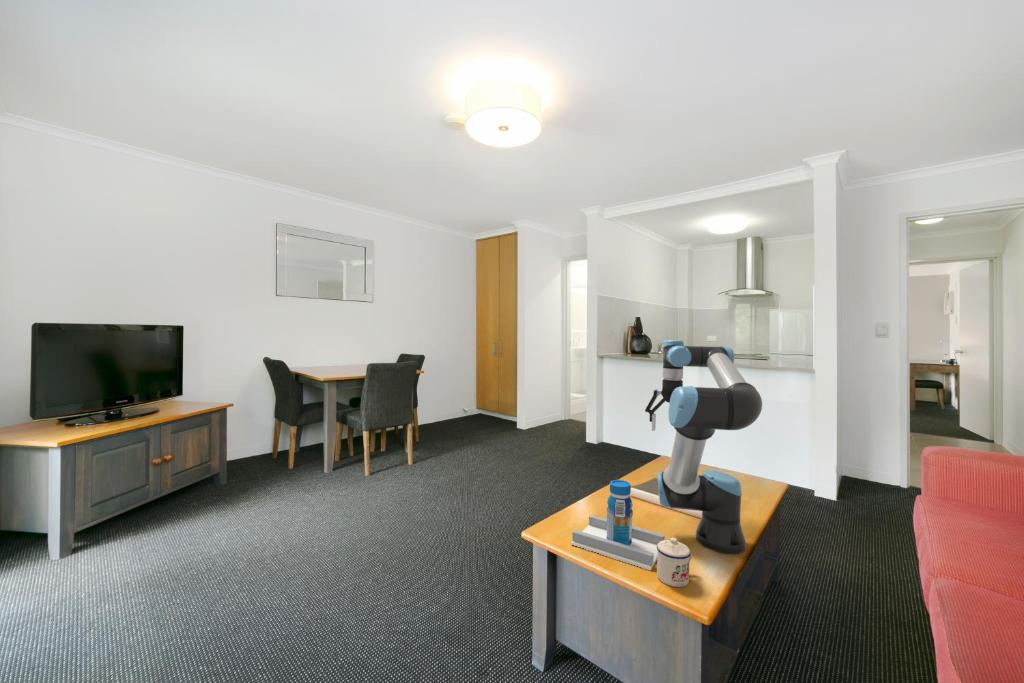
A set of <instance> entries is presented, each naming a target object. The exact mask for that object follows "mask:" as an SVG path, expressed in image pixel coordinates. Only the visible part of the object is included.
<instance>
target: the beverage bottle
mask: <svg viewBox="0 0 1024 683" xmlns="http://www.w3.org/2000/svg"><path fill="white" fill-rule="evenodd" d="M631 487H632V485H631V483H630V482H629V481H626V480H623V479H614V480H610V481H609V492H610V495H609V496H608V498H607V500H606V504H607V507H606V519H607V539H608V540H611V541H614V542H618V543H621V544H624V545H628V546H630V545H631V543H632V526H633V515H634V514H633V513H634V510H633V505H634V504H633V501H632V498H631V496H630V495H631V491H632V490H631Z"/></svg>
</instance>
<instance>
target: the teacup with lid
mask: <svg viewBox="0 0 1024 683" xmlns="http://www.w3.org/2000/svg"><path fill="white" fill-rule="evenodd" d="M657 550H658V552H657V561H656V562H657V563H656V576H657V579H658V580H659V581H660V582H662V583H663V584H665V585H666V586H671V587H675V588H681V587H682V588H683V587H686V586H687V585H688V584H689V580H690V563H691V561H692V552H691V550H690V548H689V547H688V546H687V545H686V544H684V543H682V542H679V541H678V539H677V538H675V537H670V539H665V540H663V541H660V542H659V543H658V545H657Z"/></svg>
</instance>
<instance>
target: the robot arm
mask: <svg viewBox="0 0 1024 683" xmlns="http://www.w3.org/2000/svg"><path fill="white" fill-rule="evenodd" d="M662 350H663V352H662V353H663V354H662V362H663V363H662V378H663V379H662V389H661V390H659V389H655V390H653V395H652V397H651V399H649V402H648V404H647V405H646V407H645V409H644V412H645V413H648V414H649V422H651V431H654V432H655V431H656V428H657V427H656V426H657V425H656V421H657V420H656V419H657V413H655V412H657V410H658V409H659V408H660V407H661V406H662V405H663V404H664V403H665V402H666V403H669V406H668V412H667V414H668V422H669V424H670V425H671V426H672V427H673V428H674V430H675V431H676V432H675V437H674V441H673V446H672V452H671V458H670V462H669V464H668V465H667V466H666V467H665V469H664V471H658V472H657V473H656V474H657V485H658V486H657V487H658V488H657V490H658V498H659V504H660V506H661V507H664V508H669V509H677V510H686V511H687V510H688V511H696V512H697V511H698V512H699V511H700V512H701V517H700V520H699V522H698V524H697V527H696V529H695V540H696V541H697V543H699V544H700V545H701V546H703V547H704V548H706V549H709V550H711V551H714V552H719V553H723V554H727V555H729V554H732V555H735V554H740V552H741V553H743V552H744V551H745V550H746V538H745V535H744V532H743V529H742V525H741V506H742V505H741V504H742V494H743V493H742V485H741V482H740V481H739V479H737V478H736V477H735V476H733V475H730V474H728V473H725V472H723V471H718V470H712V469H707V470H706V469H705V470H704V471H703V472H702V475H701V474H698V473H699V468H700V465H701V463H702V457H703V455H704V450H705V446H706V444H707V440H709V439H711V438H712V437H713V436H714V434H715V432H716V430H717V431H718V430H721V431H739V430H742V429H743V430H744V429H746V428H747V427H750V426H751V425H752V424H754V423H755V421H757V419H758V418H759V417H760V414H761V412H762V410H763V399H762V396H761V394H760V392H759V391H758V390H757V389H756V388H755V386H754V385H753V384H751V383H749V382H747V381H746V380H745V378H744V377H743V376H742V374H741V373H740V371H739V370H738V368H737V367H736V366H735V364H734V363H735V362H734V361H735V354H734V350H733V348H732V347H729V346H728V347H727V346H723V345H722V346H720V345H719V346H702V345H701V346H699V345H697V346H696V345H693V346H692V345H685V343H684V340H681V339H677V340H676V339H665V340H664V341H663V347H662ZM684 367H692V368H693V367H697V368H708V369H709V370H708V371H709V372H710V373H711V375H712V377H713V378H714V380H715V382H716V384H717V386H718V387H705V386H704V387H703V386H701V387H697V386H694V385H688V386H684V381H683V379H684ZM660 395H661V396H662V399H661V400H659V402H658V403H657V404H656V405H655V406H654V407H653V408H652V406H653V405H654V403H655V402H656V399H657V398H658V397H659V396H660ZM651 408H652V409H651Z"/></svg>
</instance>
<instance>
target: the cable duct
mask: <svg viewBox="0 0 1024 683" xmlns="http://www.w3.org/2000/svg"><path fill="white" fill-rule="evenodd" d="M665 538H666V537H665V534H663V533H660V532H656V531H653V530H649V529H645V528H641V527H638V526H633V525H632V543H631V545H630V546H628V545H624V544H621V543H618V542H614V541H611V540H608V539H607V518H604V517H600V516H598V515H597V516H596V515H593V514H590V515H589V516H588V525H587V526H586V527H585V528H584V529H583V530H582V531H581V530H578V529H574V530H573V531H572V540H571V542H570V545H571V544H572V545H575V546H578V547H581V548H580V549H582V548H584V549H583V550H585V549H586V550H585V551H588V550H589V551H588V552H591V551H593V552H592V553H594V552H596V553H595V554H597V553H599V554H598V555H600V554H602V555H601V556H603V555H604V556H603V557H606V556H607V557H606V558H609V557H610V558H609V559H612V558H613V560H615V559H617V560H616V561H619V560H620V561H619V562H622V561H623V563H625V562H626V563H625V564H628V563H629V564H628V565H631V564H632V565H631V566H634V565H635V567H637V566H638V568H640V567H641V568H640V569H644V570H647V571H649V570H650V572H651V571H652V569H653V567H654V566H655V564H656V562H657V552H658V550H657V545H658V543H659V542H660V541H663V540H666V539H665ZM572 545H571V546H572ZM575 546H574V547H575ZM578 547H577V548H578Z"/></svg>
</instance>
